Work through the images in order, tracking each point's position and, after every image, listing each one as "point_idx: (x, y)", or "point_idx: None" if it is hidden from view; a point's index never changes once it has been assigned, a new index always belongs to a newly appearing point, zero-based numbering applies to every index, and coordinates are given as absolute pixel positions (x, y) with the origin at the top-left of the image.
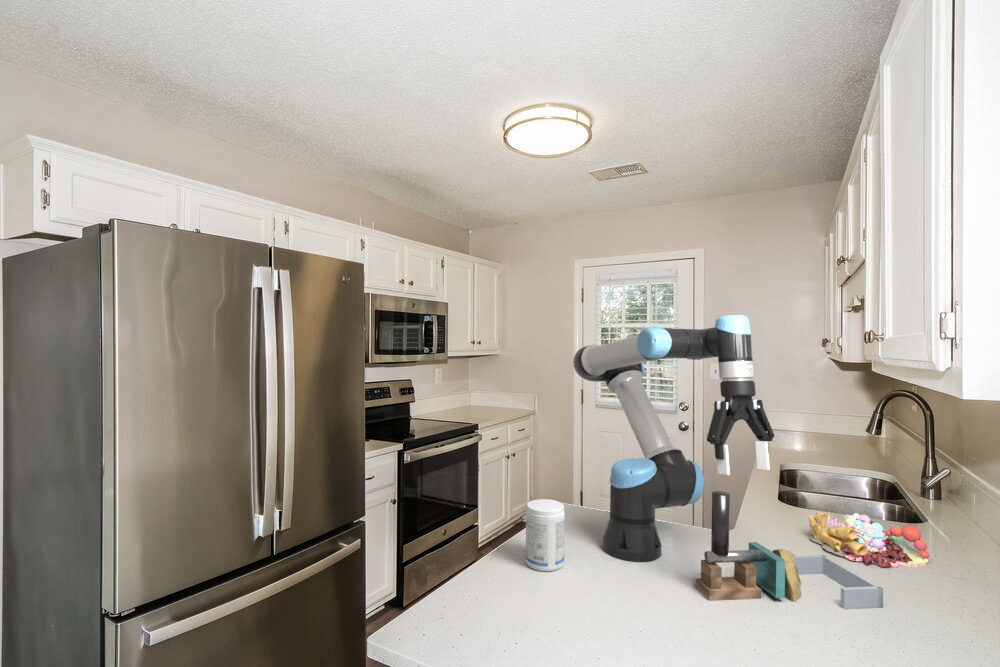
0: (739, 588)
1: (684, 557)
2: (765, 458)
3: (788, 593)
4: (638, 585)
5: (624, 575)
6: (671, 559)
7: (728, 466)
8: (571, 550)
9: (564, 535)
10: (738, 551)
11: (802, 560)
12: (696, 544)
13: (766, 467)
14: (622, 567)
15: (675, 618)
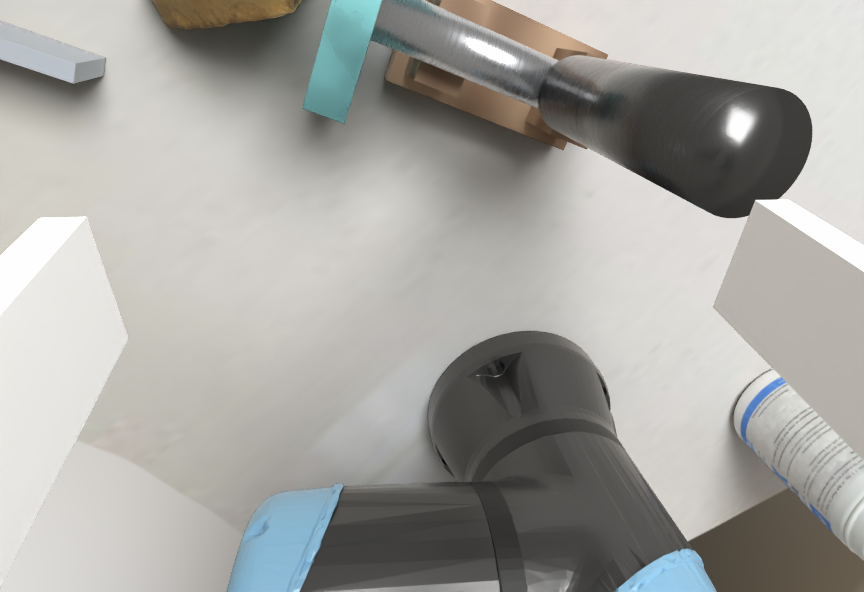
0: (495, 17)
1: (403, 318)
2: (23, 318)
3: None
4: (686, 222)
5: (666, 285)
6: (455, 320)
7: (830, 241)
8: (659, 445)
9: (810, 435)
10: (500, 56)
11: (24, 42)
12: (278, 381)
13: (80, 243)
14: (630, 325)
15: (776, 17)
